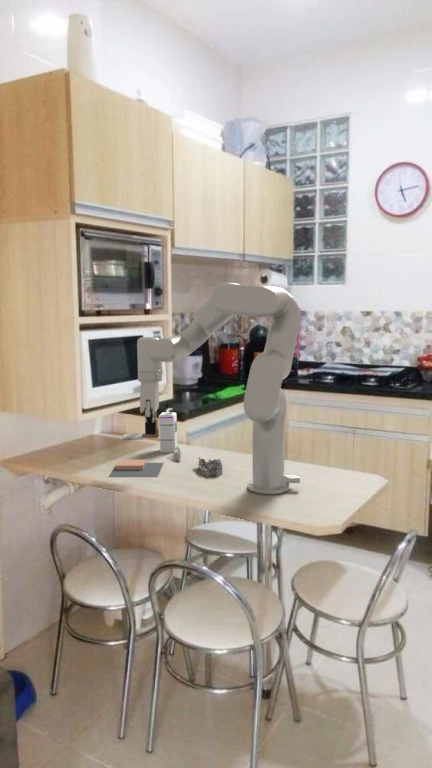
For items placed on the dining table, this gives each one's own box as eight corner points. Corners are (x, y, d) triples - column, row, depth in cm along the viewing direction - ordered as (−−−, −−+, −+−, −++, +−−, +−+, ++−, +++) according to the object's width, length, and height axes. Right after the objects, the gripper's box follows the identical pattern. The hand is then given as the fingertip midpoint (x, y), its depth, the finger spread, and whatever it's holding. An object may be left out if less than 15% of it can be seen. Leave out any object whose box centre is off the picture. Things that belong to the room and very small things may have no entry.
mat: (163, 463, 206) (163, 462, 206) (157, 478, 190) (157, 476, 190) (118, 463, 206) (117, 462, 206) (108, 478, 191) (108, 477, 190)
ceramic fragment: (180, 464, 206) (179, 453, 205) (165, 464, 206) (165, 454, 205) (181, 454, 220) (181, 444, 219) (167, 454, 220) (167, 444, 219)
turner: (159, 434, 193) (158, 416, 192) (157, 439, 187) (156, 420, 186) (124, 435, 194) (122, 417, 193) (120, 440, 188) (118, 422, 187)
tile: (146, 459, 204) (120, 459, 205) (142, 465, 197) (116, 465, 198) (146, 464, 204) (120, 464, 205) (142, 470, 198) (116, 470, 198)
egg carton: (197, 468, 201) (197, 456, 200) (219, 467, 202) (219, 455, 201) (200, 477, 191) (200, 465, 190) (223, 476, 191) (223, 464, 191)
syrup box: (175, 453, 219) (174, 415, 217) (159, 453, 219) (158, 414, 217) (178, 449, 225) (177, 411, 222) (162, 449, 225) (161, 411, 223)
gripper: (142, 372, 195) (143, 427, 198) (133, 380, 179) (135, 439, 182) (164, 372, 195) (166, 427, 198) (158, 380, 179) (159, 439, 182)
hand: (151, 432), depth 190 cm, fingers closed on turner, 3 cm apart
